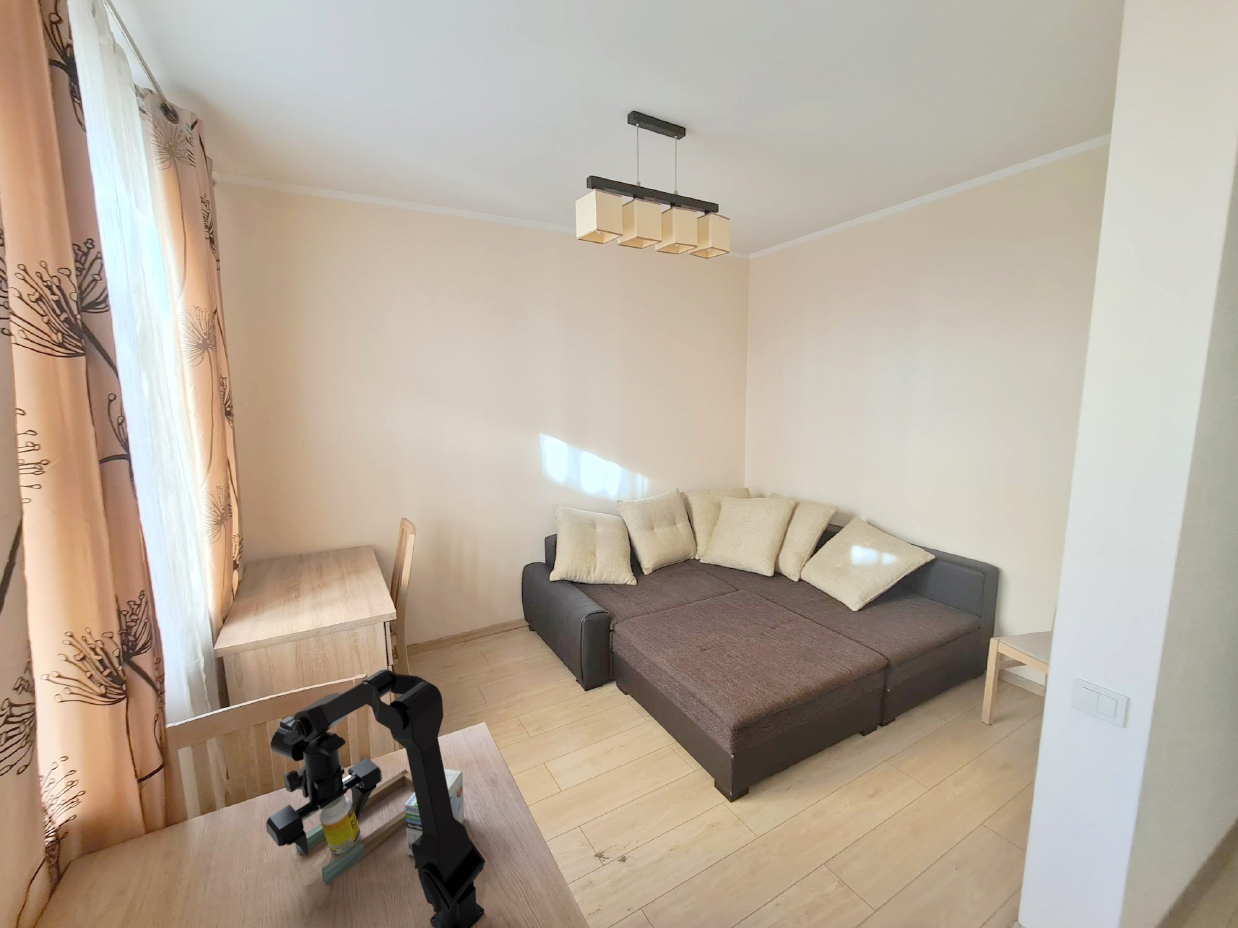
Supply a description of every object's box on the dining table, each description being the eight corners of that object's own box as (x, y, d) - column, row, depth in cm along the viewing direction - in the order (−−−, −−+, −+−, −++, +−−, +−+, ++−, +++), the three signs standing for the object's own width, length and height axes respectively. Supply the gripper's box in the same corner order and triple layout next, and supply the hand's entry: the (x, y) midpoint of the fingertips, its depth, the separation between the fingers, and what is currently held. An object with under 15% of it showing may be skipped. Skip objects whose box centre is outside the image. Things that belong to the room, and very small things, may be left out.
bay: (437, 803, 111) (437, 792, 111) (326, 885, 93) (325, 872, 92) (405, 779, 118) (405, 769, 118) (296, 851, 99) (295, 839, 99)
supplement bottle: (362, 844, 100) (348, 803, 97) (330, 861, 98) (315, 818, 95) (360, 822, 105) (347, 782, 102) (330, 837, 102) (316, 796, 100)
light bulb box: (438, 862, 97) (435, 810, 96) (406, 855, 98) (402, 805, 97) (465, 816, 108) (463, 769, 106) (436, 811, 109) (434, 765, 107)
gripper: (351, 720, 109) (359, 785, 111) (248, 776, 94) (260, 849, 97) (379, 742, 102) (386, 811, 105) (273, 806, 87) (285, 883, 90)
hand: (332, 836), depth 99 cm, fingers open, 9 cm apart
